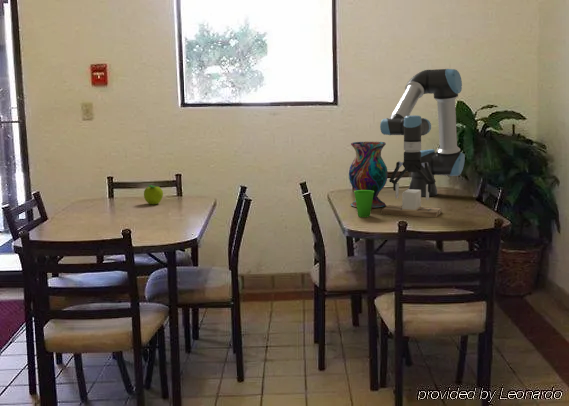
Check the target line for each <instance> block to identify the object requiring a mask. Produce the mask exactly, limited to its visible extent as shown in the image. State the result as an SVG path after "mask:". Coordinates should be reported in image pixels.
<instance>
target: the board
mask: <svg viewBox="0 0 569 406" xmlns="http://www.w3.org/2000/svg"><path fill="white" fill-rule="evenodd" d="M441 213H442V207H429V206H428V207H425V206H421V208H419V209H418V210H417V211H403V210H402V205H393V204H392V205H390V204H388V205H387V206H384V208H382V209H381V215H388V214H391V216H404V217H405V216H408V217H424V218H425V217H426V218H437V217H439V215H440V214H441Z"/></svg>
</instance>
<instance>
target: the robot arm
mask: <svg viewBox="0 0 569 406" xmlns="http://www.w3.org/2000/svg"><path fill="white" fill-rule="evenodd" d="M462 86H463V82H462V77H461V73H460V72H459V71H458V69H456V68H439V69H424V70H421V71H420V72H417V73H416V74H414V75H413V76H412V77H411V78H410V79H409V80H408V81H407V83H406V85H405V86H404V92H403V94H402V96H401V97H400V99H399V101H398V103H396V104H397V105H396V106H395V108H394V109H393V111H392V113H391V115H389V118H388V117H387V118H382V119H381V122H380V126H379V129H380V132H381V134H382V135H383V136H385V135H386V136H403V162H401V161H399V160H398V161H397V162H396V164H395V168H394V170H393V172H392V174H391V176H390V178H389V180H388V181H389V182H390V183H392V185H393V186H392V187H393V188H392V189H393V191H394V192H395V196H394V197H395V199H397V200H398V199H399V197H400V195H399V194H400V193H399V192H400V191H399V190H400V189H399V188H400V186H399V181H400V180H401V179H402V177H403V176H404V175H405V174H406V172H407V173H411V177H410V178H411V181H410V184H409V186H408V189H414V190H421V197H425V200H426V201H428V200H429V199H430V197H432V196H433V197H434V196H437V195H438V188H437V185H436V182H437V181H436V179H435V176H446V177H447V176H448V177H453V176H454V177H458V176H460V175H461V174H462V172H463V169H464V166H465V163H466V162H465V161H466V159H465V153H463V152H461V148H460V147H459V146H458V135H457V133H458V132H457V115H456V114H457V113H456V99H457V98H458V97H459V94H460V93H461V92H462V89H463V88H462ZM425 94H427V95H428V94H430V95H431V94H432V95H433V99H434V100H435V101H437V102H436V103H437V104H436V105H437V121H438V122H437V124H438V139H439V140H438V141H439V143H438V145H439V147H438V148H437V149H436V150H435V149H432V148H431V149H423V150H422V136H426V135H427V134H429V133H430V132H431V129H432V124H431V121H430V120H429V119H427V118H423V117H422V116H421V115H414V114H413V115H411V113H412V112H413V110H414V108H415V107H416V105H417V102H418V101H419V99H421V98H423V96H424V95H425ZM402 166H403V167H404V168H403V170H402V171H401V172H400V173H399V175H398V176H397V177H396V175H397V174H398V172H399V170H400V168H401V167H402Z"/></svg>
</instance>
